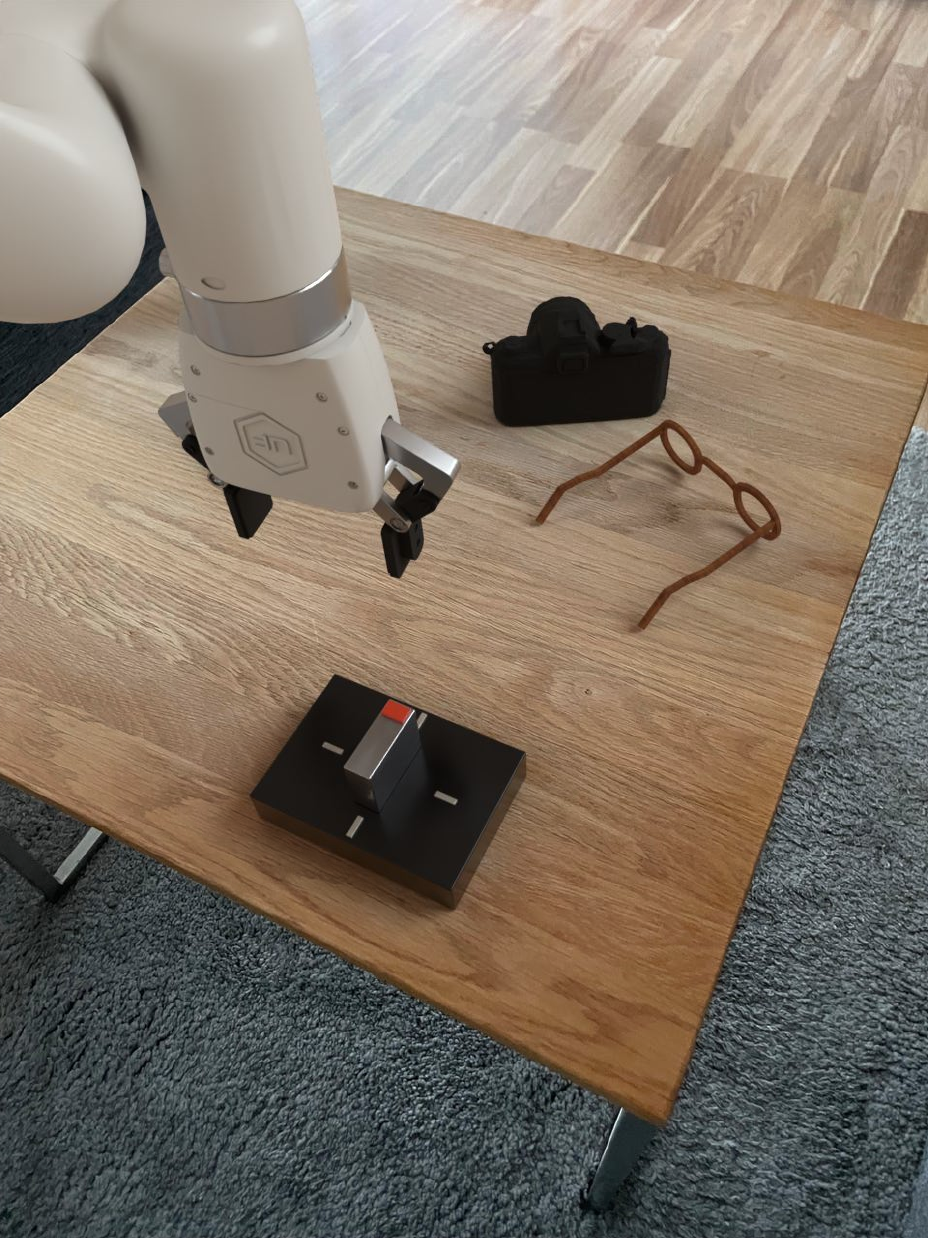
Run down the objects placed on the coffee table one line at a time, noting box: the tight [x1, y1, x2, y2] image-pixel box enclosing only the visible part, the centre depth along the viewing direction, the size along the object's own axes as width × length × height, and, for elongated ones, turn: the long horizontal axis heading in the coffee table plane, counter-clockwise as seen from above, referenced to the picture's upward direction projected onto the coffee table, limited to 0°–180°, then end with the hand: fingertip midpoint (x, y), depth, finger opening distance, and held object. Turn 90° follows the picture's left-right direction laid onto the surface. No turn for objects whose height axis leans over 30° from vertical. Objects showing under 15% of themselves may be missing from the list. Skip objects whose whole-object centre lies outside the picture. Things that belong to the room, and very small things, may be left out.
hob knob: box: [344, 699, 421, 813], centre depth 61 cm, size 5×2×4 cm, turn 152°
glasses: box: [534, 419, 782, 631], centre depth 75 cm, size 13×13×5 cm
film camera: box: [481, 295, 672, 427], centre depth 84 cm, size 15×10×9 cm, turn 92°
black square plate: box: [249, 673, 527, 911], centre depth 64 cm, size 14×10×3 cm
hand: (329, 540), depth 60 cm, fingers open, 9 cm apart
